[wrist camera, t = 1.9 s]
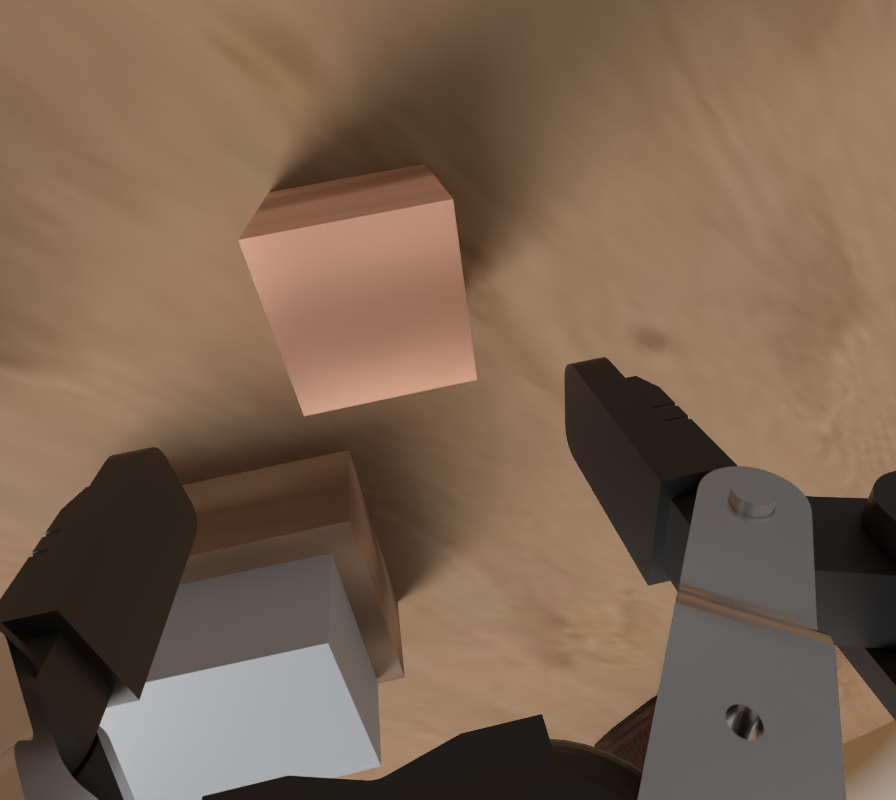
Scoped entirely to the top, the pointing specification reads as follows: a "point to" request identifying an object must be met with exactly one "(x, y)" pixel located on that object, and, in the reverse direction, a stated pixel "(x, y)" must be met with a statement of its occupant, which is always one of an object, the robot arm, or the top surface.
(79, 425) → the top surface
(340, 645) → the grey top block
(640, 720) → the coffee grinder
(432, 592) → the top surface
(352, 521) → the walnut base block
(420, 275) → the terracotta block
